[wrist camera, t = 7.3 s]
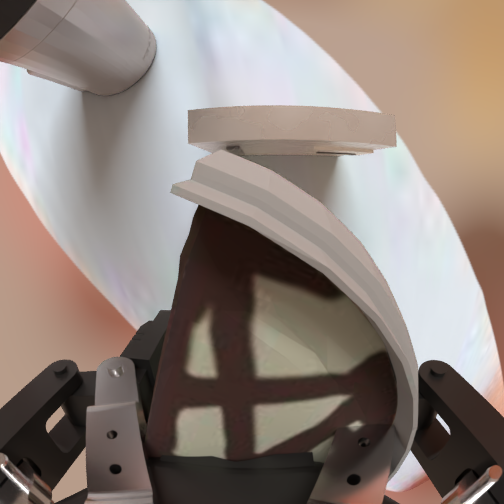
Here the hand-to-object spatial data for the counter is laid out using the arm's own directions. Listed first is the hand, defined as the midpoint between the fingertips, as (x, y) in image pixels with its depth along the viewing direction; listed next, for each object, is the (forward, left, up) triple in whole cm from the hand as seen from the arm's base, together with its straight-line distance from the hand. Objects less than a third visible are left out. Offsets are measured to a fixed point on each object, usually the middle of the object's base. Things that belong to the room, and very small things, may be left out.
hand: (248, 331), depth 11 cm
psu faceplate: (+2, +9, -16) cm, 19 cm away
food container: (+1, 0, -3) cm, 3 cm away
